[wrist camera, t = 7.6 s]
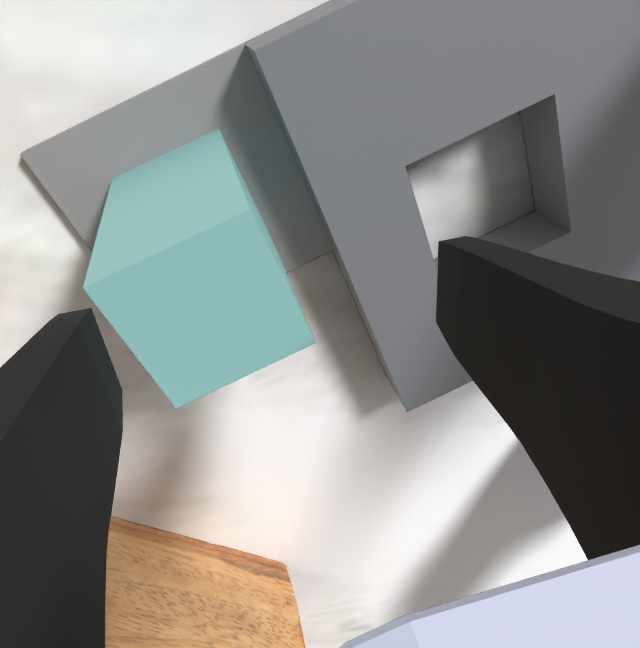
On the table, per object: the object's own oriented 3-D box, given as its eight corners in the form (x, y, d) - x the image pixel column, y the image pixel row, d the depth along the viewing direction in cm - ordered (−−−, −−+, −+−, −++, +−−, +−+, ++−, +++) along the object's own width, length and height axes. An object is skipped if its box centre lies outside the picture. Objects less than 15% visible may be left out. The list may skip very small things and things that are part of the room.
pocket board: (609, 272, 26) (646, 296, 24) (388, 378, 27) (406, 411, 24) (579, -123, 17) (635, -137, 15) (243, 43, 17) (254, 50, 15)
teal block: (267, 228, 20) (315, 342, 14) (172, 273, 20) (176, 409, 14) (218, 128, 18) (249, 209, 12) (112, 178, 18) (82, 287, 12)
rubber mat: (330, 245, 22) (333, 249, 22) (155, 331, 22) (154, 336, 22) (243, 43, 17) (245, 44, 17) (22, 151, 17) (19, 154, 17)
